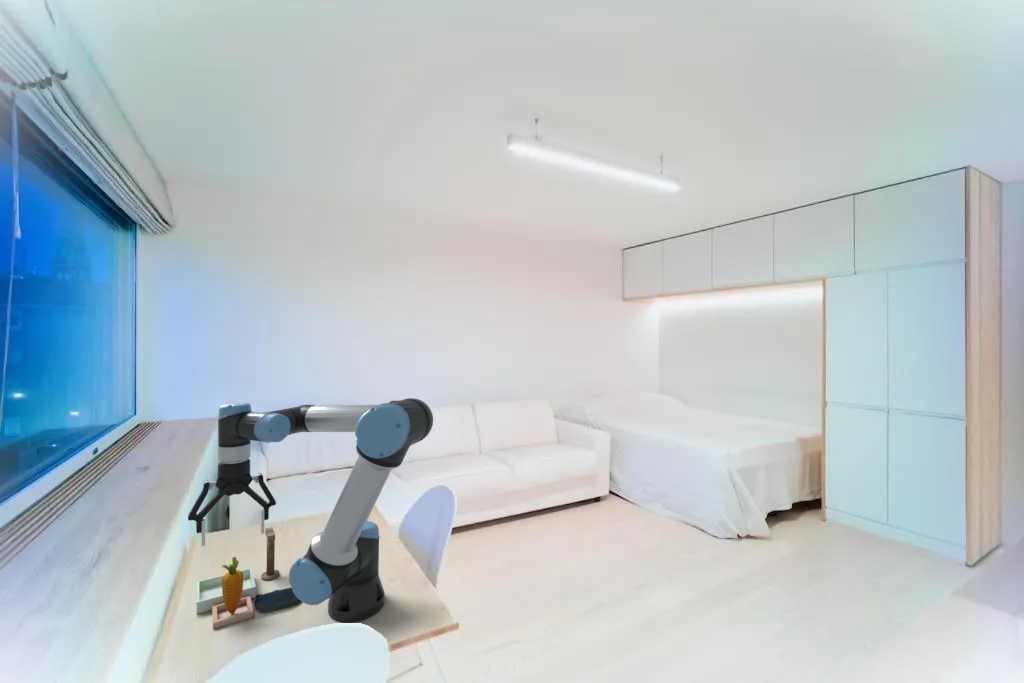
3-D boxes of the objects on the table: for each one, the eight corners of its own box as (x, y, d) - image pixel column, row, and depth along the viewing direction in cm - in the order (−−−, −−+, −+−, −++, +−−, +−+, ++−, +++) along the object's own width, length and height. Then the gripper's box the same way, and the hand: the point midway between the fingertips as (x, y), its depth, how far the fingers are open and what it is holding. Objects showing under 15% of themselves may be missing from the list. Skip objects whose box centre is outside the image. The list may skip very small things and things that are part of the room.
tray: (255, 597, 129) (255, 586, 129) (196, 614, 121) (196, 602, 121) (251, 577, 140) (251, 567, 140) (196, 591, 132) (196, 581, 132)
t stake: (280, 577, 140) (280, 534, 140) (262, 582, 137) (262, 538, 137) (277, 567, 146) (277, 526, 146) (259, 571, 143) (260, 529, 143)
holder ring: (253, 616, 120) (253, 611, 120) (213, 628, 115) (213, 623, 115) (250, 600, 127) (250, 595, 127) (212, 611, 122) (212, 605, 122)
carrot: (233, 620, 118) (233, 564, 118) (217, 618, 119) (217, 562, 119) (247, 609, 123) (247, 555, 123) (231, 607, 124) (232, 554, 124)
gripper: (283, 451, 131) (282, 522, 131) (177, 463, 117) (177, 543, 117) (287, 456, 125) (286, 531, 125) (176, 470, 111) (175, 555, 111)
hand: (233, 537), depth 121 cm, fingers open, 13 cm apart
